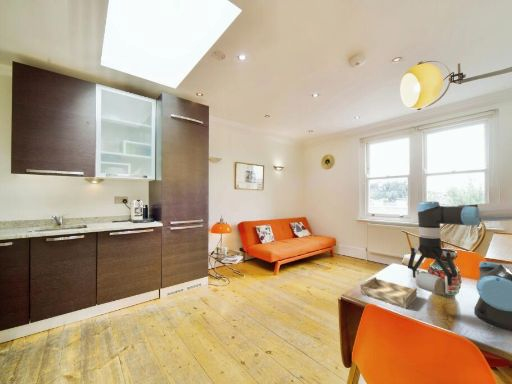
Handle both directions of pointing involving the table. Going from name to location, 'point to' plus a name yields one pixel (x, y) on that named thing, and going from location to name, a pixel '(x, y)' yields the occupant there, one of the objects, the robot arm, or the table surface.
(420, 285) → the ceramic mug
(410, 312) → the table surface
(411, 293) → the crate
